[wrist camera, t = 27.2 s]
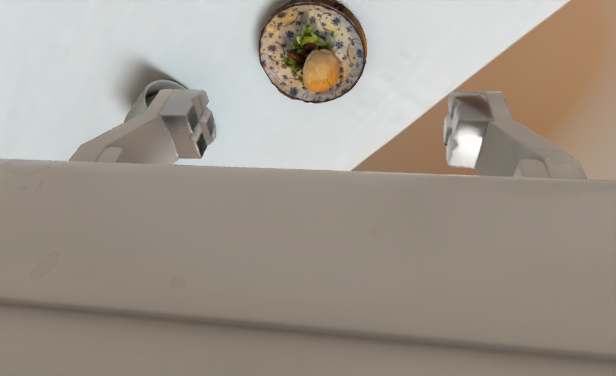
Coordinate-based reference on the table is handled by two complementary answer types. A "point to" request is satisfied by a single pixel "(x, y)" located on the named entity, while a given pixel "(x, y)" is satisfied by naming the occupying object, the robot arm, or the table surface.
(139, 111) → the ceramic mug
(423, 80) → the table surface
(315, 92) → the burger
